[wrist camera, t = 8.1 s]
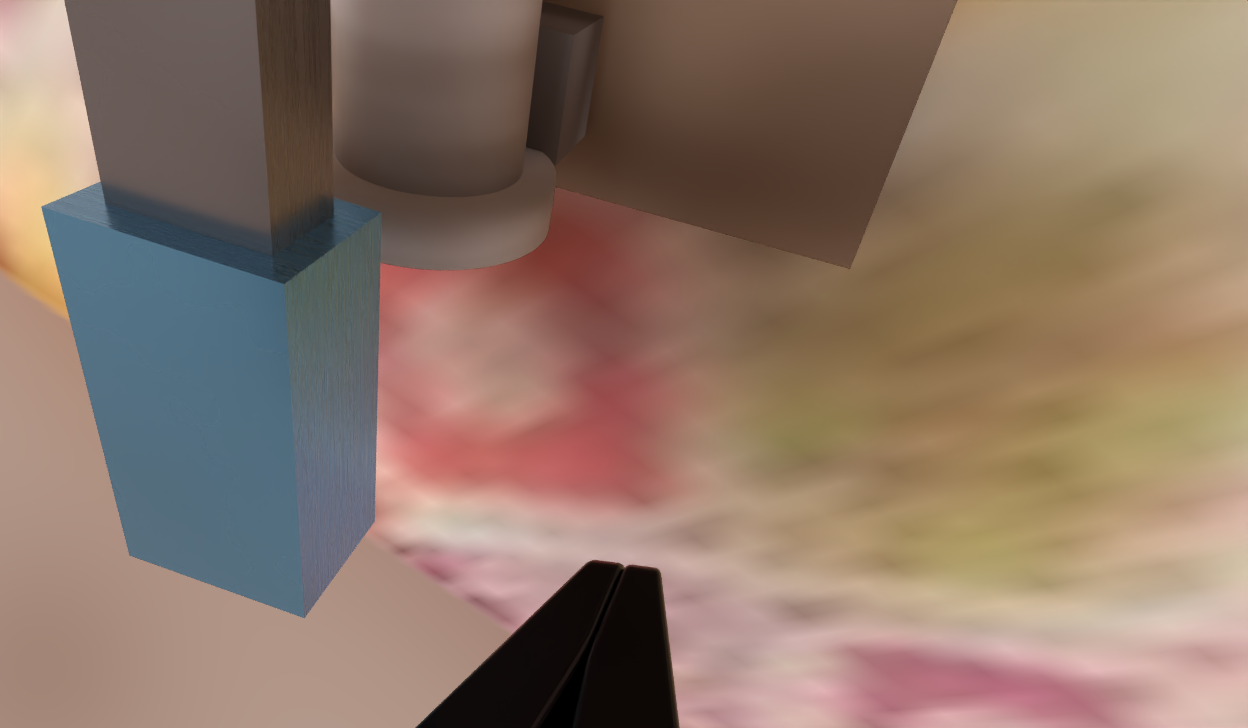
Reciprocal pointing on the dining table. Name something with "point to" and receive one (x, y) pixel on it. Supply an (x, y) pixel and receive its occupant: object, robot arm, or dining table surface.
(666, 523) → the dining table surface
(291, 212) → the lever
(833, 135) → the valve board
